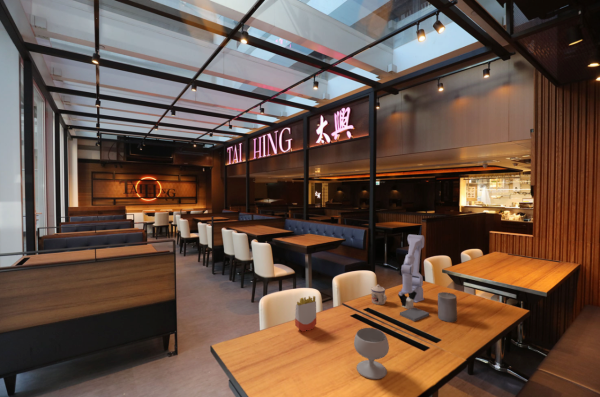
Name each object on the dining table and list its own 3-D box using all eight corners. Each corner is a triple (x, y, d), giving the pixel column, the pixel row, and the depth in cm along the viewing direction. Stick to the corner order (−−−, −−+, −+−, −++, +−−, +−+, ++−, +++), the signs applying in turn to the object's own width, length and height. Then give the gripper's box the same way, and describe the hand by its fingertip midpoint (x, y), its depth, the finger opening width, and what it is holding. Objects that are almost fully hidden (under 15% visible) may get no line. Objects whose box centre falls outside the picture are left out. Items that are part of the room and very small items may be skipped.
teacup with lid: (368, 301, 186) (368, 284, 186) (378, 298, 190) (378, 282, 190) (380, 307, 176) (380, 289, 175) (391, 305, 179) (391, 287, 179)
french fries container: (295, 329, 149) (294, 296, 149) (312, 324, 154) (311, 293, 154) (298, 333, 145) (298, 299, 145) (316, 328, 150) (316, 295, 150)
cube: (406, 304, 180) (406, 297, 180) (413, 307, 175) (413, 299, 175) (401, 306, 177) (401, 298, 177) (408, 309, 173) (408, 301, 173)
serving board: (414, 309, 172) (414, 307, 172) (429, 315, 163) (429, 313, 163) (399, 315, 165) (399, 312, 165) (414, 321, 156) (414, 319, 156)
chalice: (382, 359, 122) (382, 325, 121) (394, 381, 108) (394, 343, 107) (351, 360, 121) (350, 326, 121) (358, 382, 107) (358, 344, 107)
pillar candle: (452, 315, 164) (451, 290, 163) (460, 322, 154) (459, 296, 154) (435, 314, 165) (434, 289, 164) (442, 322, 155) (441, 295, 155)
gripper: (409, 279, 183) (409, 299, 183) (394, 283, 175) (394, 304, 176) (418, 282, 177) (418, 303, 177) (404, 286, 170) (404, 308, 170)
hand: (407, 304), depth 176 cm, fingers open, 7 cm apart
